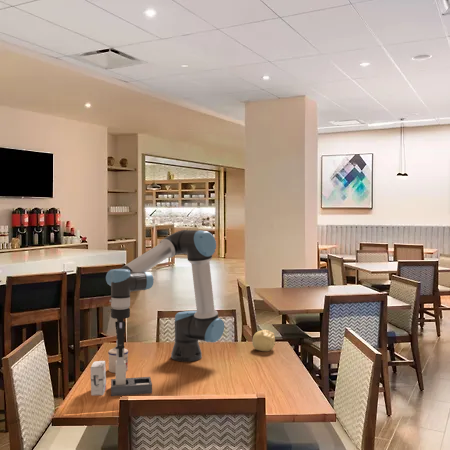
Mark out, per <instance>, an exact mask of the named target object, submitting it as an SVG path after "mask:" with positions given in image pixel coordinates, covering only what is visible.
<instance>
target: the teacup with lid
mask: <svg viewBox="0 0 450 450" xmlns="http://www.w3.org/2000/svg"><path fill="white" fill-rule="evenodd" d="M115 348H116V346H114V347H113V348H111V349H109V350H108V351H107V353H108V371H109V372H110V373H112V374H116V362H115V361H117V356H116V349H115ZM124 360H126V372H127V371H128V370H129V350H128V348H125V347H124Z"/></svg>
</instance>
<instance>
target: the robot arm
mask: <svg viewBox="0 0 450 450" xmlns="http://www.w3.org/2000/svg"><path fill="white" fill-rule="evenodd" d="M216 249H217V241H216V238H215V236H214V235H213V234H212V233H211V232H209V231H207V230H202V229H201V230H199V229H197V230H196V229H195V230H193V229H192V230H191V229H190V230H189V229H183V230H178V231H175V232H174V233H171V234H169V235H168V236H166V237H164V238H162V239H161V240H160V242H159V244H156V246H153V247H152V248H151V249H149V250H148V251H146V252H144V253H142V254H141V255H139V256H138V257H136V258H135V259H132V260H131V261H130V262H128V263H127V264H125V265H123V266H122V267H120V268H115V269H114V268H113V269H110V270H108V271H107V273H106V275H105V281H106V282H105V283H107V285H109V286H110V295H111V296H110V297H111V298H110V299H109V303H110V307H111V309H110V317H111V318H112V319H114V320H115V319H116V321H115V323H114V324H115V333H116V334H115V335H116V343H115V344H116V346H115V347H116V348H115V347H114V348H115V349H116V356H117V365H124V348H125V333H126V321H125V320H124V319H128V318H130V317H131V309H130V307H131V293H133V292H139V291H145V290H150V289H151V288H152V287H153V286H154V283H155V282H154V276H153V274H152V273H151V272H149V270H151V269H152V268H154V267H156V266H157V265H158V264H160V263H162V262H163V261H165V260H166V259H168V258H170V259H172V258H173V257H175V256H177V255H186V257H187V261H188V262H189V263H190V265H191V273H192V280H193V289H194V299H195V300H194V301H195V307H196V308H195V309H196V310H185V311H179V312H177V313H176V314H174V315H175V316H174V343H173V347H172V350H171V356H170V357H171V359H172V361H177V362H187V363H188V362H195V361H199V360H201V359H202V356H203V355H202V354H203V353H202V349H201V347H200V344H199V343H200V342H199V341H203V342H207V343H216V342H218V341H219V340H220V339H221V338H222V336H223V334H224V332H225V322H224V320H223V319H222V318H220V317H219V312H218V311H217V310H216V309H215V302H214V291H213V284H212V282H213V281H212V273H211V265H210V264H211V263H210V261H211V260H212V259H213V255H214V254H215V252H216Z"/></svg>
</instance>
